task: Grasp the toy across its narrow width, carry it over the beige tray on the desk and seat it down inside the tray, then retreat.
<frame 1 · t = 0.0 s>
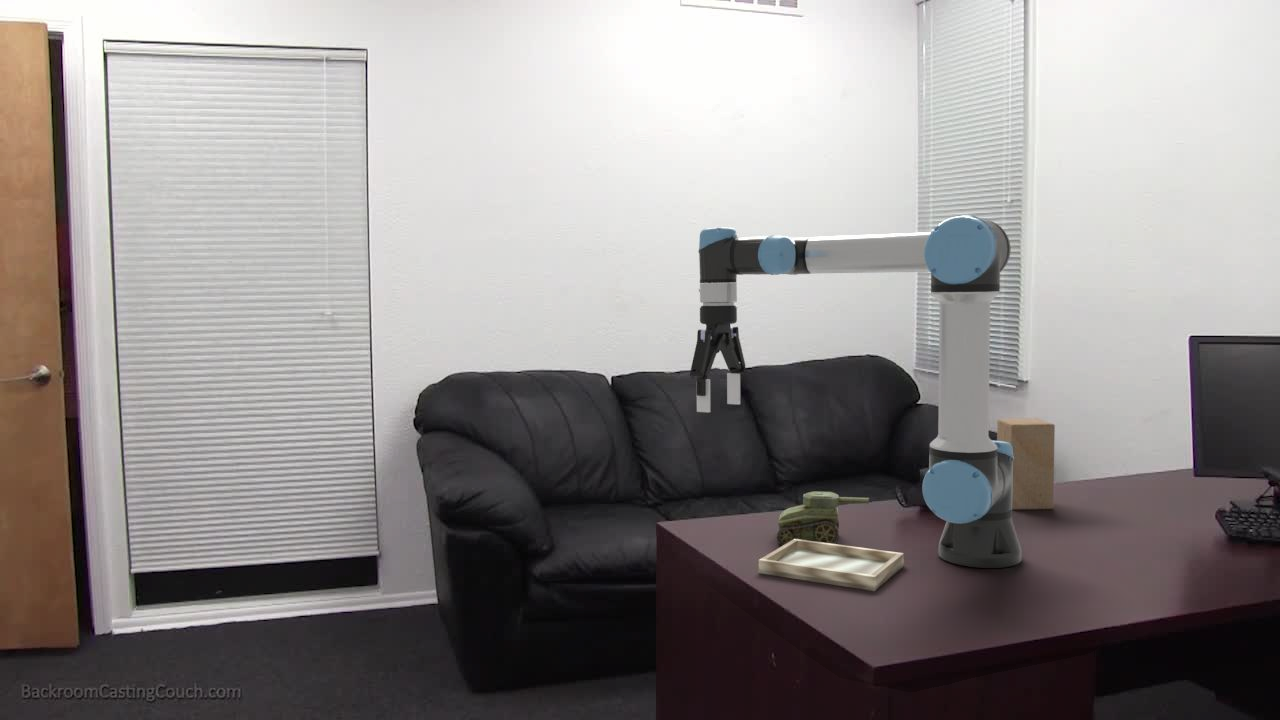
hand: (719, 408, 203), 28 cm above the table, fingers open, 13 cm apart
wooden block: (1024, 505, 234), on the table
toy: (823, 542, 205), on the table
beige tray: (831, 569, 185), on the table
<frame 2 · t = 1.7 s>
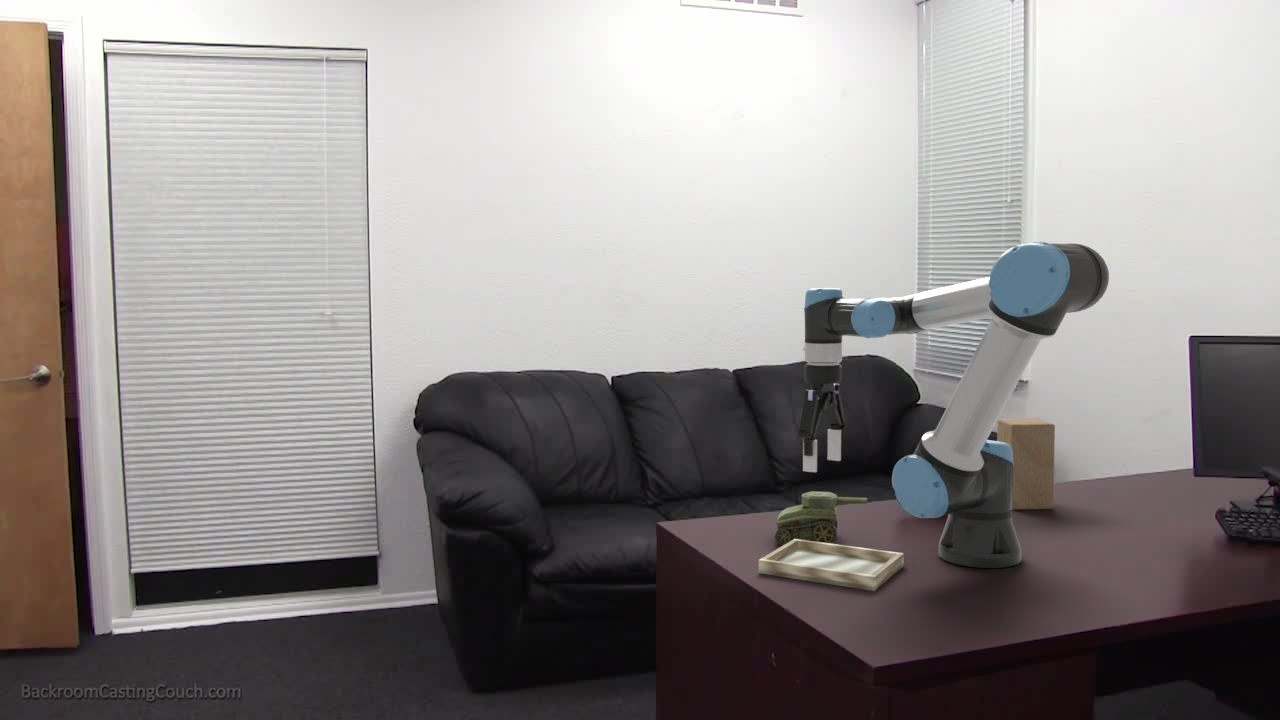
hand: (822, 465, 204), 16 cm above the table, fingers open, 13 cm apart
nothing on the table moved.
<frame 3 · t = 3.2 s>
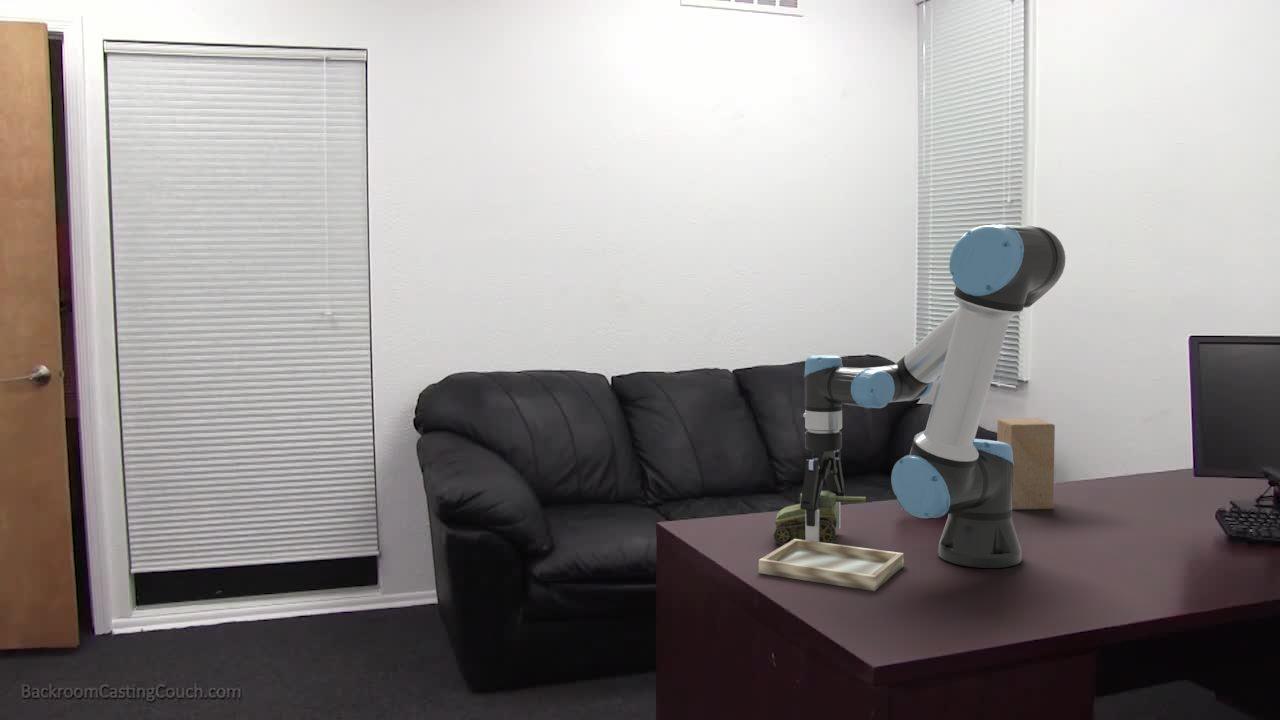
hand: (823, 534, 205), 1 cm above the table, fingers closed on toy, 11 cm apart
toy: (820, 540, 206), on the table, touching gripper
everything else where it was.
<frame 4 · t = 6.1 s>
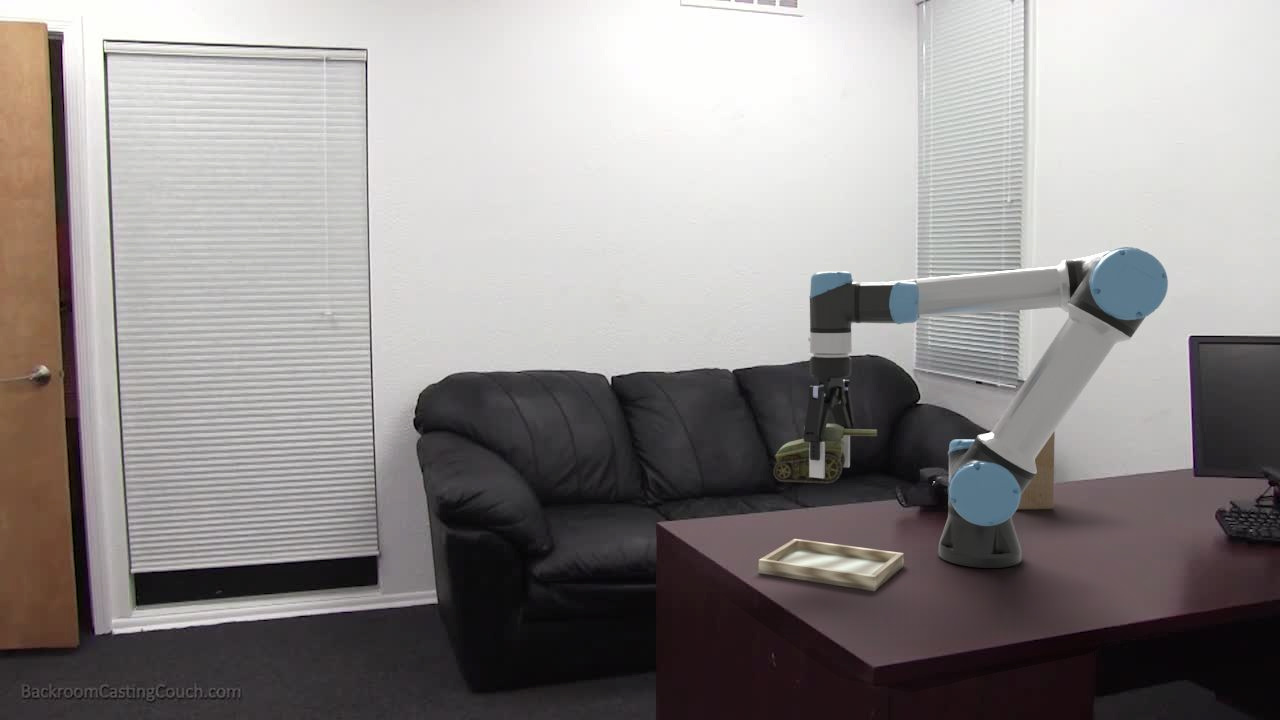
hand: (830, 471, 185), 18 cm above the table, fingers closed on toy, 11 cm apart
toy: (825, 478, 185), point 17 cm above the table, touching gripper
everything else where it was.
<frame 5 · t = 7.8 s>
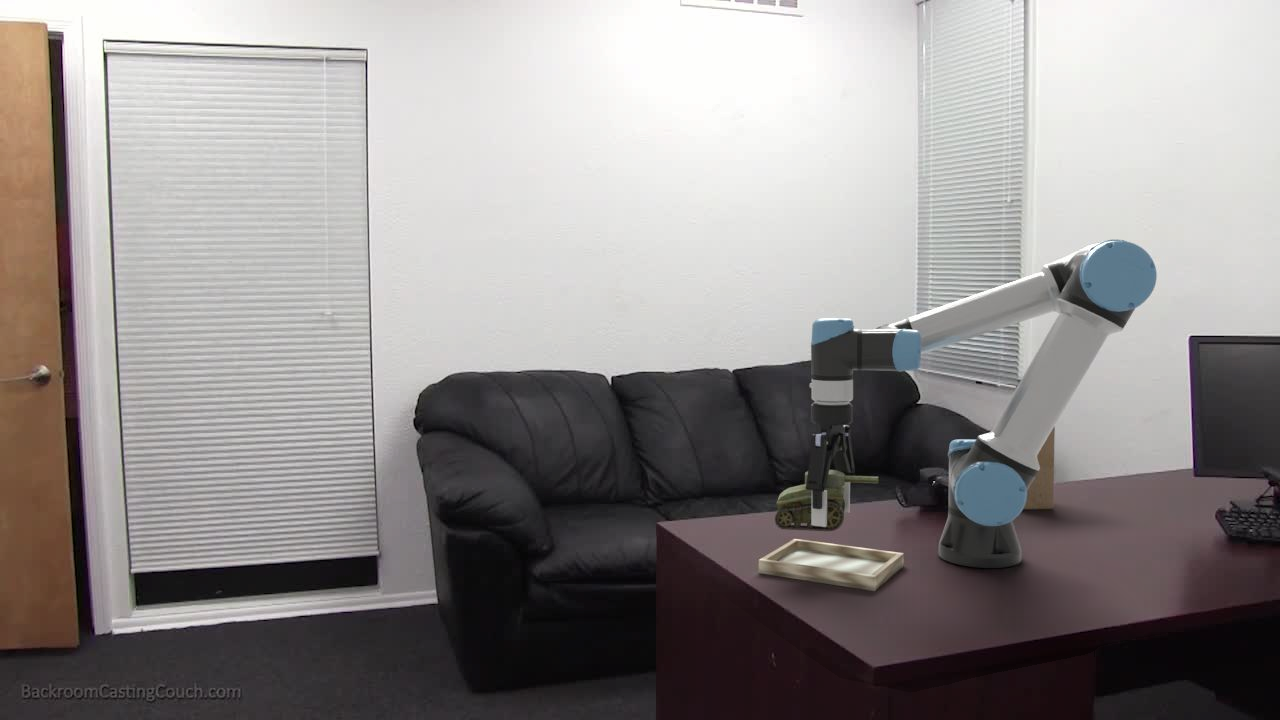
hand: (831, 518, 184), 10 cm above the table, fingers closed on toy, 11 cm apart
toy: (826, 525, 184), point 8 cm above the table, touching gripper
everything else where it was.
when the fingers open (5 cm above the table, at t = 9.3 s): toy drops 3 cm, resting on beige tray.
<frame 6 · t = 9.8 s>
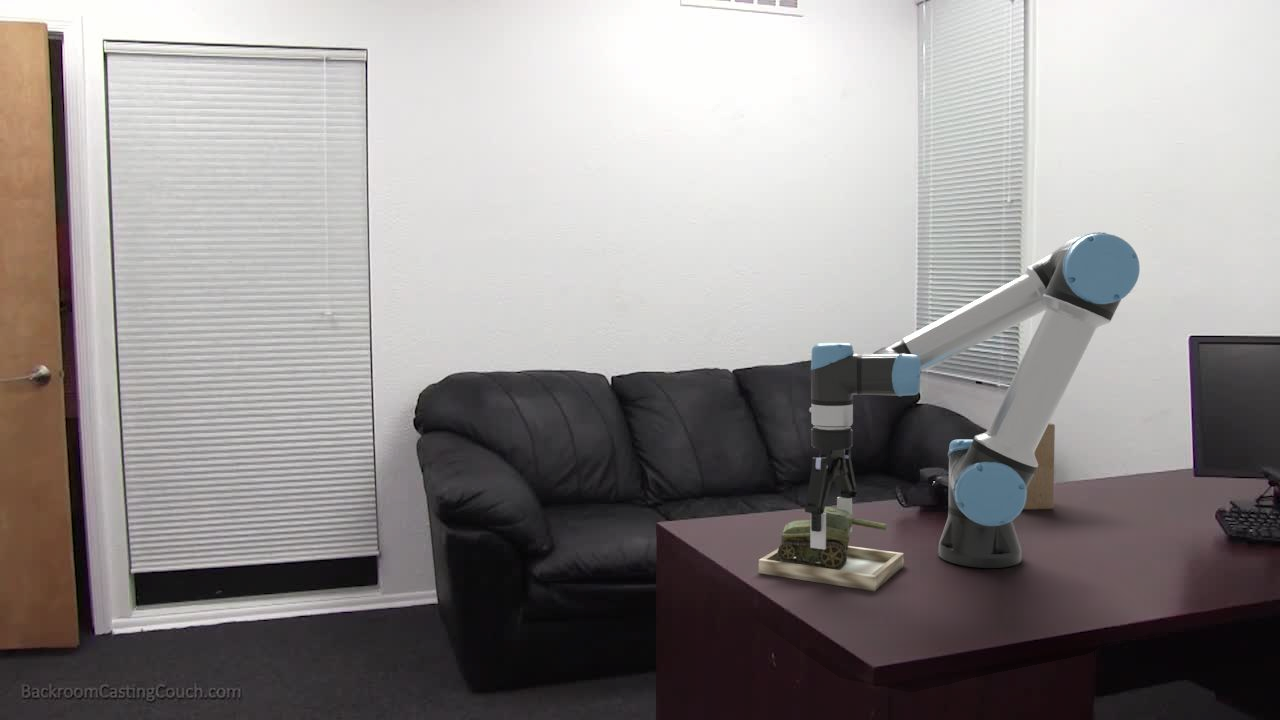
hand: (831, 539, 184), 6 cm above the table, fingers open, 13 cm apart
toy: (827, 563, 185), point 1 cm above the table, touching beige tray
everything else where it was.
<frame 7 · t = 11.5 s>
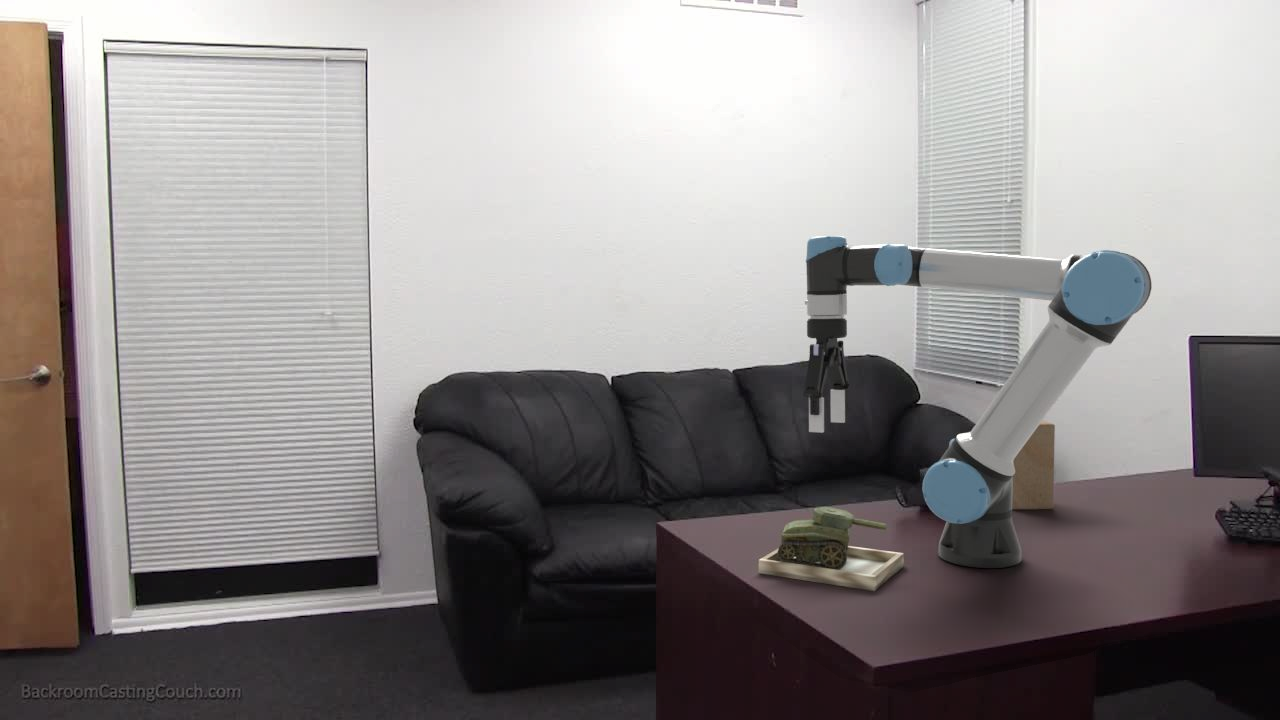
hand: (827, 427, 191), 26 cm above the table, fingers open, 13 cm apart
nothing on the table moved.
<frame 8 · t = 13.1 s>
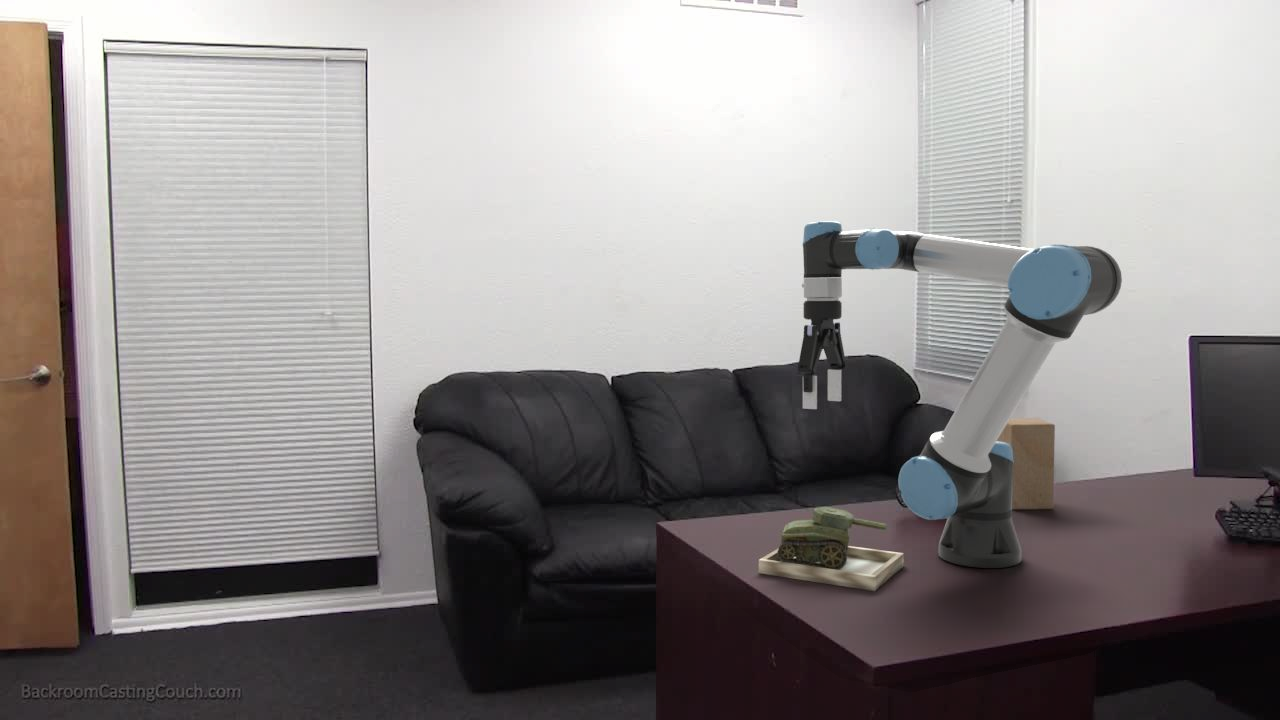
hand: (822, 404, 200), 29 cm above the table, fingers open, 13 cm apart
nothing on the table moved.
at the end: toy inside the target area on the beige tray (0.8 cm from its centre), point 1.0 cm above the beige tray's base; toy tilted 9°; the gripper is holding nothing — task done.
